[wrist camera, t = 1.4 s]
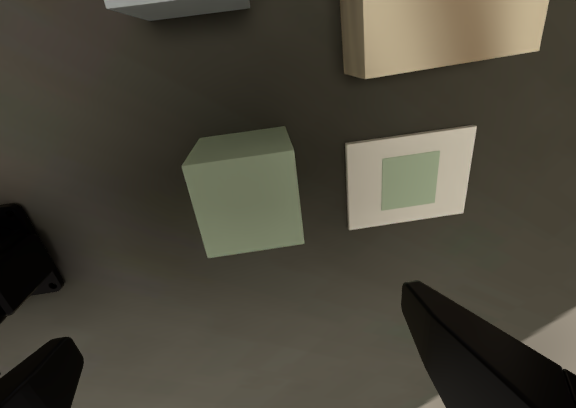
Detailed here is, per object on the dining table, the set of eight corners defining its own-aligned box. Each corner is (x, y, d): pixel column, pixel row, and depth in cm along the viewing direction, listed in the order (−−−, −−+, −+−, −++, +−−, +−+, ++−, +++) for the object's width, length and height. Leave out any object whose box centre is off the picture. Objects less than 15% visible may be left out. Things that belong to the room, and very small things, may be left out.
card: (347, 227, 22) (349, 230, 21) (344, 142, 19) (347, 145, 18) (459, 210, 22) (464, 213, 21) (472, 124, 19) (477, 126, 19)
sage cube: (218, 212, 20) (207, 258, 16) (199, 137, 18) (181, 166, 14) (294, 201, 20) (304, 243, 16) (284, 125, 18) (294, 150, 14)
